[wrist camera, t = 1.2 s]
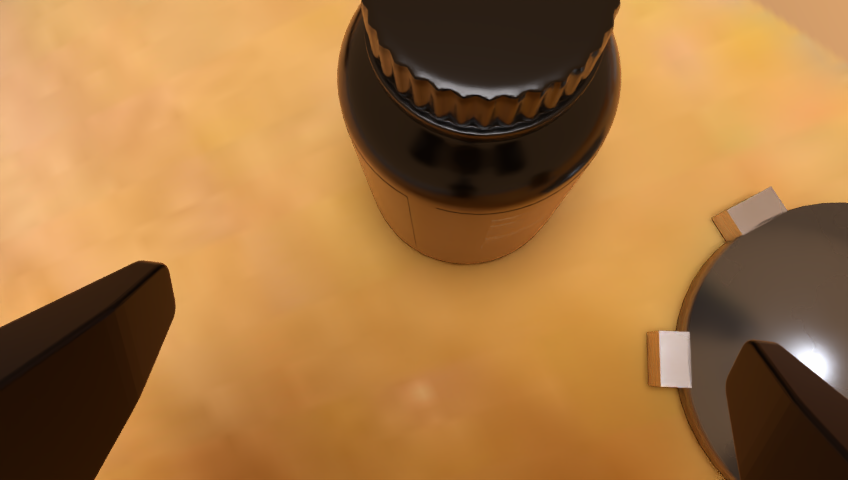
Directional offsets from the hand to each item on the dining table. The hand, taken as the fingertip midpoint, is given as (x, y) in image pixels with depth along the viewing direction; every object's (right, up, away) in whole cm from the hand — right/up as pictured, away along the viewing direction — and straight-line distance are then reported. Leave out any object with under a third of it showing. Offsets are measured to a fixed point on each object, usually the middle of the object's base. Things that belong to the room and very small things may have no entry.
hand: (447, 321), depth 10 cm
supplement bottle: (+1, +4, +13) cm, 14 cm away
